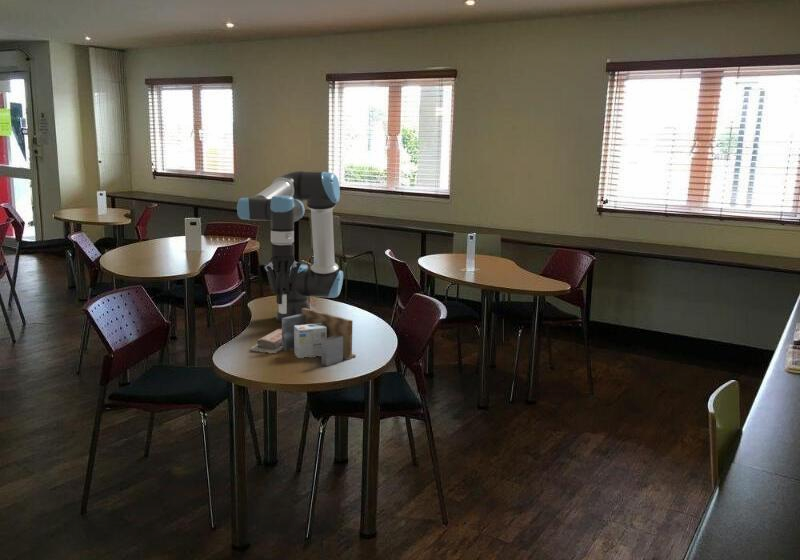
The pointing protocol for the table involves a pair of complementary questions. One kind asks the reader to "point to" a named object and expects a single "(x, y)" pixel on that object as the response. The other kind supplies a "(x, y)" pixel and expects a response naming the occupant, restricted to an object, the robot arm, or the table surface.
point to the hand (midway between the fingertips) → (282, 312)
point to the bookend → (332, 350)
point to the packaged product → (269, 342)
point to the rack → (313, 317)
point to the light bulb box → (309, 339)
